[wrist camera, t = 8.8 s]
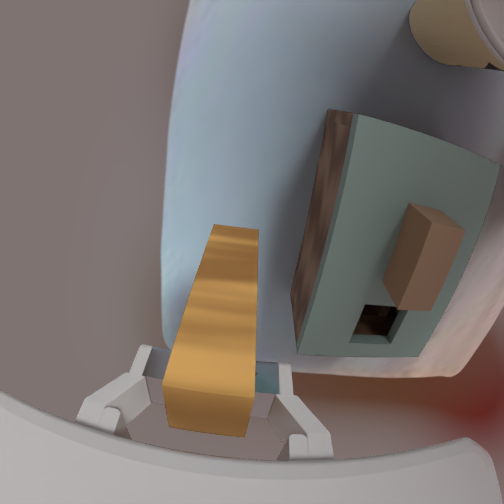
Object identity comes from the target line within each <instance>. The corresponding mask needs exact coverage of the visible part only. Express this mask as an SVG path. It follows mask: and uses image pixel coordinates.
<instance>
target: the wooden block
mask: <svg viewBox="0 0 504 504" xmlns="http://www.w3.org/2000/svg"><path fill="white" fill-rule="evenodd" d="M258 237H259V230H256V229H248V228H240V227H232V226H224V225H215V224H214V226H213V228H212V231H211V234H210V237H209V240H208V242H207V245H206V248H205V251H204V254H203V257H202V260H201V263H200V265H199V268H198V271H197V274H196V277H195V280H194V283H193V286H192V289H191V292H190V295H189V298H188V301H187V304H186V308H185V311H184V314H183V317H182V320H181V323H180V326H179V329H178V333H177V336H176V339H175V342H174V345H173V349H172V352H171V355H170V359H169V362H168V365H167V369H166V372H165V375H164V379H163V382H162V390H163V396H164V402H165V408H166V414H167V419H168V424H169V427H172V428H177V429H183V430H190V431H195V432H202V433H210V434H217V435H226V436H236V437H245V434H246V430H247V426H248V422H249V418H250V414H251V410H252V406H253V402H254V398H255V364H256V325H257V283H258Z"/></svg>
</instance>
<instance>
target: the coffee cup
mask: <svg viewBox="0 0 504 504" xmlns="http://www.w3.org/2000/svg"><path fill="white" fill-rule="evenodd" d="M409 24H410V29H411V32H412V34H413V37H414V39H415V40H416V42H417V44H418V45H419V46H420V48H421V49H422V50H423V51H424V52H425V53H426V54H427V55H428V56H429V57H431V58H432V59H434V60H435V61H437V62H439V63H442V64H445V65H452V66H464V67H475V68H484V69H493V70H500V71H504V0H418V1H417V2H416V3H415V4H414V5H413V6H412V8H411V10H410V14H409Z"/></svg>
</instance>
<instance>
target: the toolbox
mask: <svg viewBox="0 0 504 504" xmlns="http://www.w3.org/2000/svg"><path fill="white" fill-rule="evenodd" d="M352 118H353V113H350V112H344V111H338V110H332V109H328V113H327V119H326V125H325V130H324V136H323V142H322V147H321V153H320V158H319V163H318V169H317V174H316V179H315V184H314V189H313V194H312V199H311V204H310V209H309V214H308V218H307V223H306V228H305V232H304V237H303V241H302V246H301V250H300V255H299V259H298V264H297V268H296V272H295V277H294V281H293V285H292V289H291V293H290V295H291V303H292V311H293V320H294V329H295V338H296V344H297V341H298V338H299V334H300V331H301V328H302V325H303V321H304V318H305V315H306V311H307V308H308V305H309V301H310V298H311V294H312V291H313V287H314V284H315V280H316V276H317V273H318V269H319V265H320V262H321V258H322V254H323V250H324V246H325V243H326V239H327V235H328V231H329V227H330V222H331V218H332V214H333V210H334V206H335V201H336V197H337V193H338V188H339V184H340V179H341V174H342V170H343V165H344V160H345V155H346V150H347V145H348V140H349V135H350V129H351V124H352ZM398 313H399V310H398V309H397V308H396V307H395V306H381V305H368V304H365V306H364V308H363V311H362V313H361V315H360V318H359V320H358V323H357V325H356V327H355V330H354V332H353V334H357V335H381V336H387V335H388V333H389V331H390V329H391V327H392V325H393V323H394V321H395V319H396V317H397V315H398Z"/></svg>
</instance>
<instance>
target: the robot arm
mask: <svg viewBox="0 0 504 504" xmlns="http://www.w3.org/2000/svg"><path fill="white" fill-rule="evenodd" d="M171 352H172V350H169V349H164V348H159V347H155V346H149V345H145V344H142V345H141V346H140V347H139V349H138V352H137V354H136V356H135V359H134V361H133V364H132V366H131V369H130V372H129V373H127V372H125V373H124V374H122V375H121V376H119V377H118V378H116V379H115V380H113V381H112V382H110V383H108V384H107V385H105V386H104V387H102V388H101V389H99V390H98V391H96V392H95V393H93V394H91V395H90V396H88V397H87V398H85V400H84V402H83V404H82V406H81V409H80V411H79V413H78V416H77V418H76V420H75V422H72V421H70V420H67V419H64V418H61V417H59V416H57V415H54V414H52V413H49V412H47V411H44V410H42V409H40V408H38V407H35V406H33V405H31V404H29V403H27V402H25V401H22V400H20V399H18V398H16V397H14V396H12V395H10V394H9V393H7V392H5V391H3V390H1V389H0V504H502V498H501V492H500V488H499V483H498V479H497V475H496V472H495V468H494V465H493V462H492V459H491V457H490V455H489V453H488V452H487V451H486V450H485V449H483V448H482V447H481V446H480V445H478V444H477V443H476V442H474V441H473V440H471V439H470V438H460V439H456V440H453V441H449V442H445V443H441V444H437V445H432V446H428V447H423V448H418V449H414V450H408V451H403V452H397V453H391V454H384V455H376V456H369V457H359V458H349V459H335V460H334V458H333V450H332V443H331V436H330V433H329V432H328V431H327V429H326V428H325V427H324V426H323V425H322V424H321V423H320V421H319V420H318V419H317V418H316V417H315V416H314V415H313V413H312V412H311V411H310V410H309V409H308V408H307V407H306V405H304V403H303V402H302V401H301V400H300V399H299V397H298V396H296V395H293V383H292V372H291V365H290V364H287V363H276V362H262V361H256V364H255V398H254V402H253V406H252V410H251V414H250V417H259V418H268V421H269V422H270V424H271V426H272V427H273V429H274V430H275V432H276V433H277V435H278V437H279V438H280V440H281V441H282V443H283V444H284V447H283V449H282V451H281V453H280V455H279V457H278V458H277V460H254V459H240V458H230V457H221V456H213V455H205V454H198V453H191V452H185V451H180V450H174V449H169V448H164V447H159V446H154V445H150V444H146V443H142V442H137V441H133V440H132V439H131V437H130V434H129V432H128V430H127V427H126V426H127V425H128V424H129V423H130V422H131V421H132V420H133V419H134V418H135V417H137V416H138V415H139V414H140V413H141V412H142V411H143V410H144V409H146V408H147V407H148V406H149V405H150V404H151V402H152V403H158V404H163V405H165V402H164V396H163V390H162V382H163V379H164V375H165V372H166V369H167V365H168V362H169V359H170V355H171Z"/></svg>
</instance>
